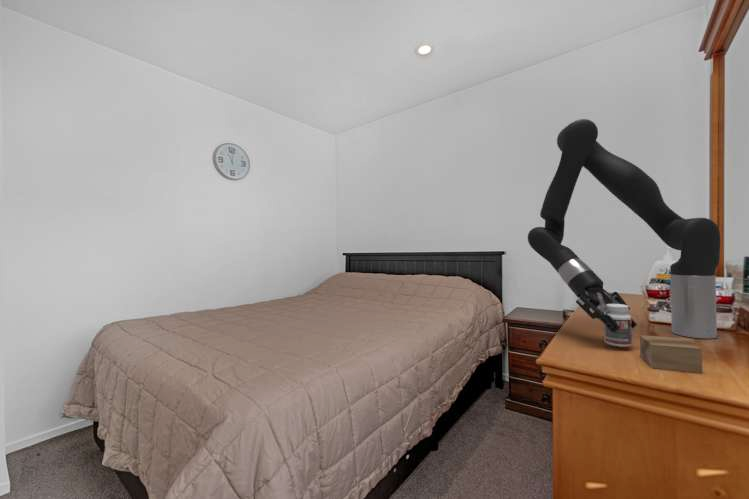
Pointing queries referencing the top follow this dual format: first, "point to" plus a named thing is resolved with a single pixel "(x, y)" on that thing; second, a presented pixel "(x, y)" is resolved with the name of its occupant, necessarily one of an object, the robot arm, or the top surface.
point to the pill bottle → (624, 321)
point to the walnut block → (671, 353)
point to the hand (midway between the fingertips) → (625, 328)
